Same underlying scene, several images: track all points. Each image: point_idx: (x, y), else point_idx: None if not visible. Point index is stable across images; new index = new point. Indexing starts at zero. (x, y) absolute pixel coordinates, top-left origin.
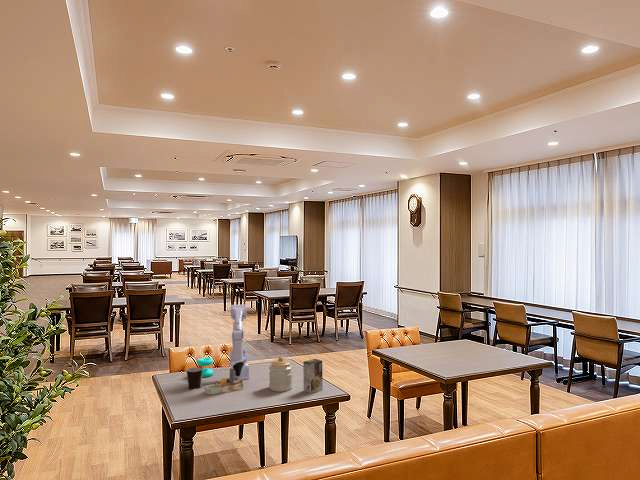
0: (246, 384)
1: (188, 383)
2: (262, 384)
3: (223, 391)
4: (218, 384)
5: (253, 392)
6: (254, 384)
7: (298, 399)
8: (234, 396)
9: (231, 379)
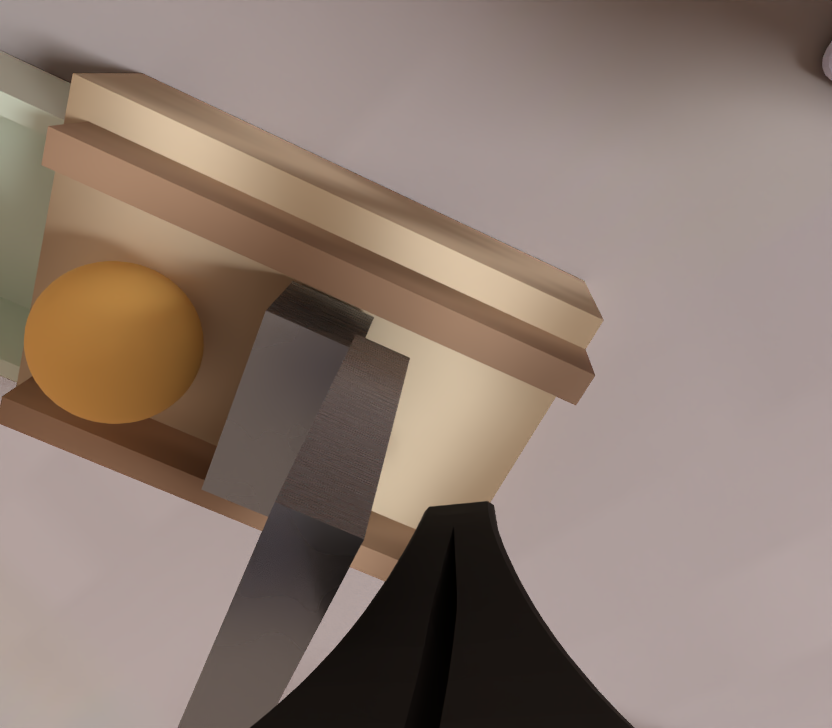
0: (699, 424)
1: None
2: (804, 634)
3: None
4: (81, 200)
5: None
6: (755, 536)
7: None
8: (128, 591)
9: (284, 458)
